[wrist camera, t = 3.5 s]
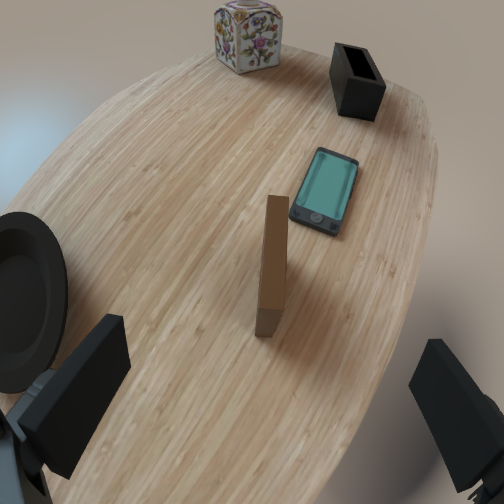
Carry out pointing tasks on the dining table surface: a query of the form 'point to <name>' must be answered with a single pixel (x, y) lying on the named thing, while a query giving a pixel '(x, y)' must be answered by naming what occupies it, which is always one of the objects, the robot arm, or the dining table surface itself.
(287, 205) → the thin brown wooden plank
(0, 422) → the robot arm
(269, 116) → the dining table surface
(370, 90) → the black open box
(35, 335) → the plate
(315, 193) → the smartphone
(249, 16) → the decorative jar
